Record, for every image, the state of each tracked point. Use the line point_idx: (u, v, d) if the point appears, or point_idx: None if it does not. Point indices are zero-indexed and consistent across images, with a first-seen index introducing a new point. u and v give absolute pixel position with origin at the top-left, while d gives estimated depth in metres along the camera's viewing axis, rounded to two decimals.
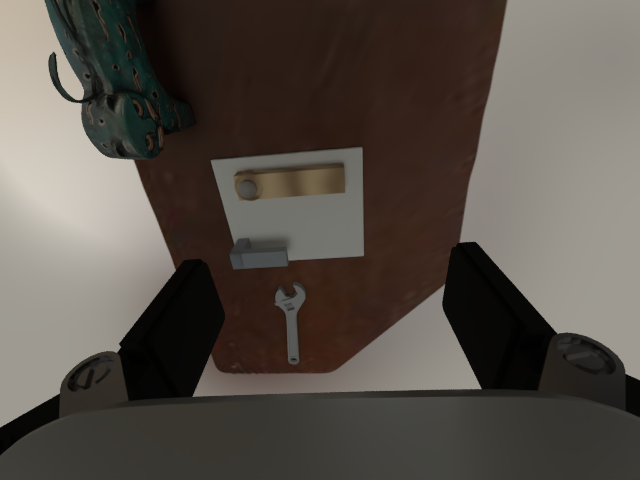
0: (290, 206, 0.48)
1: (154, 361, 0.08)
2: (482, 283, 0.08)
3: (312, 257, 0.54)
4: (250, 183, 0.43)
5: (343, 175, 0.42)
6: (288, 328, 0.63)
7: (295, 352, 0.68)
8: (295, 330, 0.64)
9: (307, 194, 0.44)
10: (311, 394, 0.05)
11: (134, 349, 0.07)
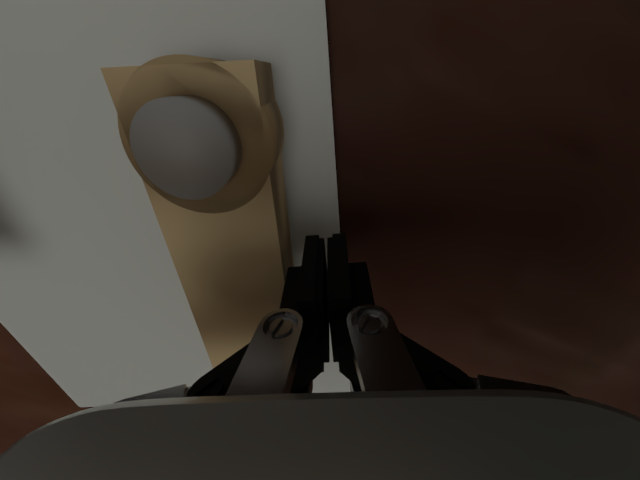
0: (160, 258, 0.14)
1: (317, 319, 0.08)
2: (327, 266, 0.09)
3: None
4: (225, 177, 0.08)
5: None
6: None
7: None
8: None
9: (210, 351, 0.13)
10: (311, 394, 0.05)
11: (308, 306, 0.08)
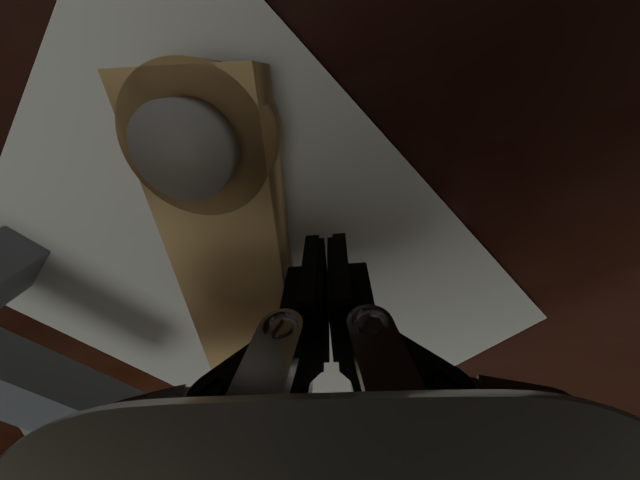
0: None
1: (317, 319, 0.08)
2: (328, 266, 0.09)
3: None
4: (223, 179, 0.08)
5: None
6: None
7: None
8: None
9: (209, 353, 0.13)
10: (311, 394, 0.05)
11: (308, 306, 0.08)
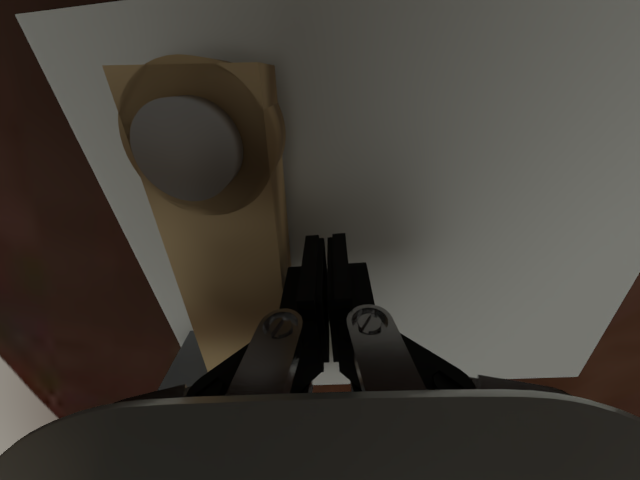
0: (376, 232, 0.13)
1: (317, 319, 0.08)
2: (327, 266, 0.09)
3: None
4: (226, 180, 0.08)
5: None
6: None
7: None
8: None
9: (205, 353, 0.13)
10: (311, 394, 0.05)
11: (308, 306, 0.08)
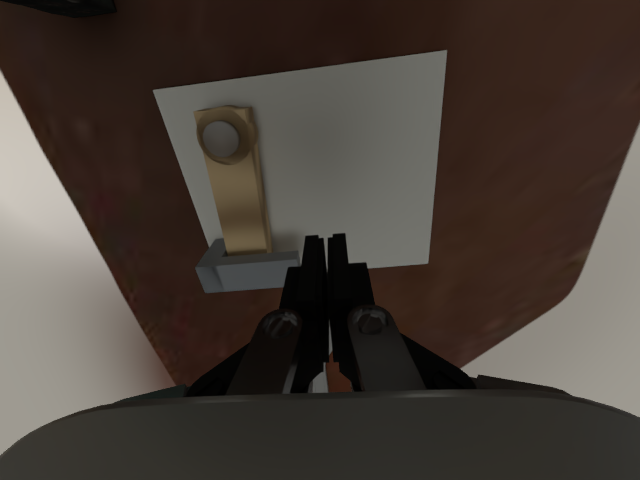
0: (304, 178, 0.27)
1: (317, 319, 0.08)
2: (328, 266, 0.09)
3: None
4: (234, 149, 0.22)
5: None
6: (314, 383, 0.42)
7: None
8: (324, 385, 0.43)
9: (225, 236, 0.27)
10: (311, 394, 0.05)
11: (307, 306, 0.08)
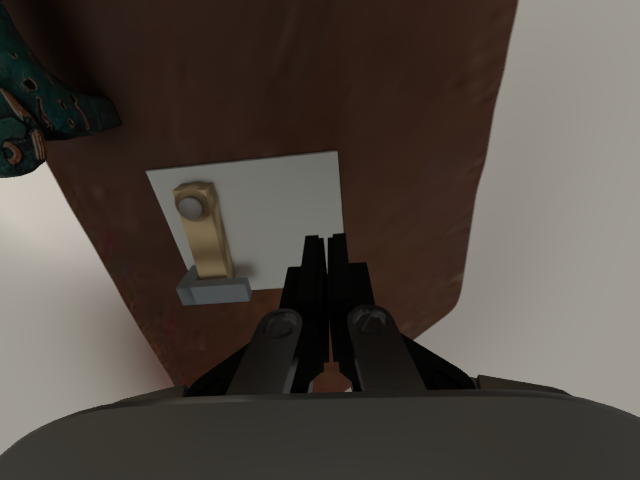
0: (252, 226, 0.39)
1: (317, 319, 0.08)
2: (328, 266, 0.09)
3: None
4: (199, 214, 0.34)
5: None
6: None
7: None
8: None
9: (197, 266, 0.39)
10: (311, 394, 0.05)
11: (307, 306, 0.08)
